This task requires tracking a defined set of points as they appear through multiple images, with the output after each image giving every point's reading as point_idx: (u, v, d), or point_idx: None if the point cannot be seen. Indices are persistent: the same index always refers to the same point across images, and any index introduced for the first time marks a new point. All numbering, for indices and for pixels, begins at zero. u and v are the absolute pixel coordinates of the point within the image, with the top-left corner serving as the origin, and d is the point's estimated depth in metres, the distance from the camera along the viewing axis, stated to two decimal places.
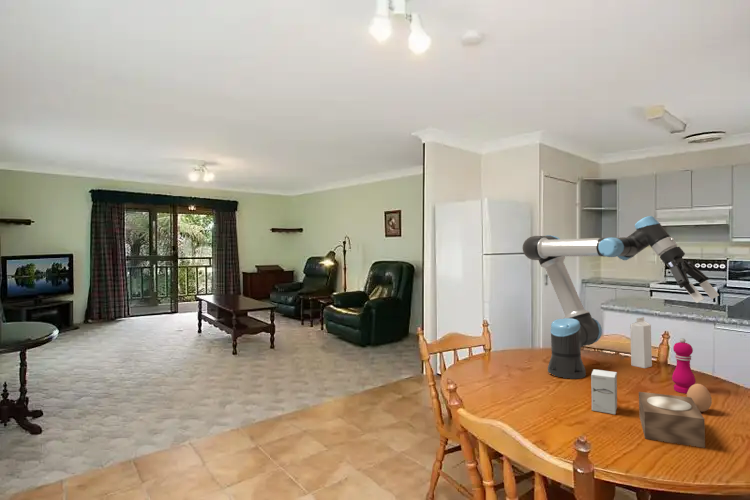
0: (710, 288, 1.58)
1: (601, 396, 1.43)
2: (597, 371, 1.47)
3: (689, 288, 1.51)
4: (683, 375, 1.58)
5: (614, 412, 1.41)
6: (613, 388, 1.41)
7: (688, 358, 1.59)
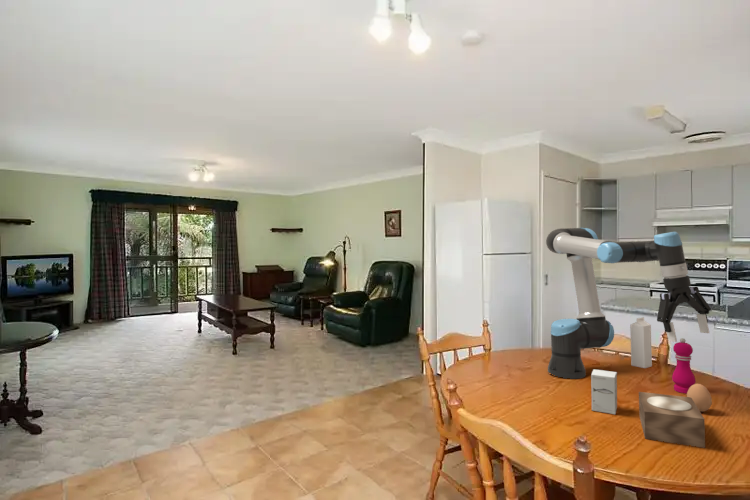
0: (703, 323, 1.48)
1: (601, 396, 1.43)
2: (597, 371, 1.47)
3: (666, 327, 1.45)
4: (683, 375, 1.58)
5: (614, 412, 1.41)
6: (613, 388, 1.41)
7: (688, 358, 1.59)
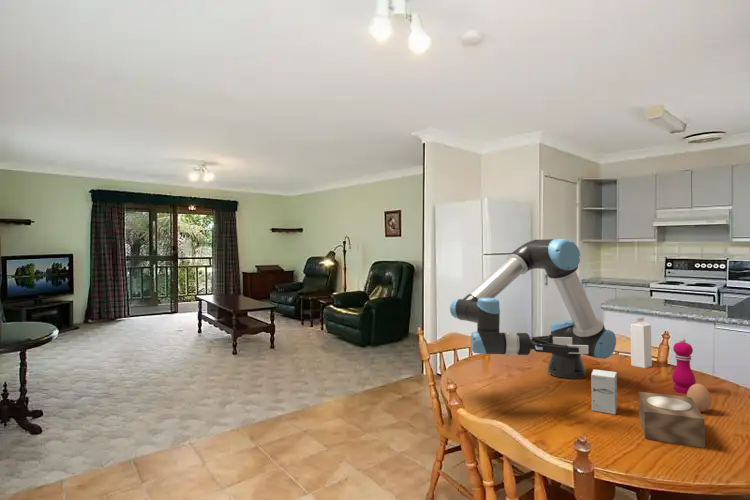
0: None
1: (601, 396, 1.43)
2: (597, 371, 1.47)
3: None
4: (683, 375, 1.58)
5: (614, 412, 1.41)
6: (613, 388, 1.41)
7: (688, 358, 1.59)
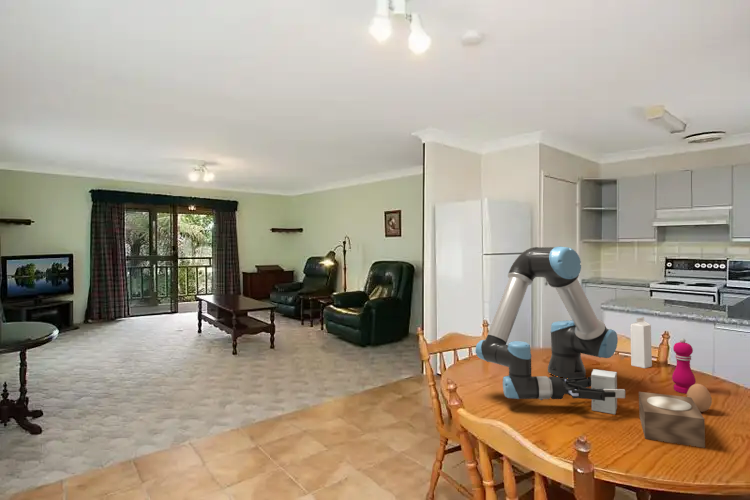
0: None
1: None
2: (597, 371, 1.47)
3: None
4: (683, 375, 1.58)
5: (614, 412, 1.41)
6: (613, 388, 1.41)
7: (688, 358, 1.59)
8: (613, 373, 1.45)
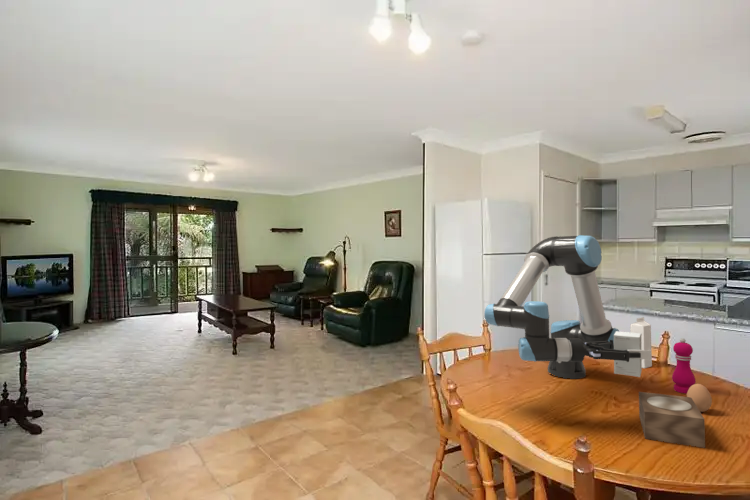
0: None
1: None
2: (620, 332, 1.38)
3: None
4: (683, 375, 1.58)
5: (639, 374, 1.32)
6: (638, 349, 1.32)
7: (688, 358, 1.59)
8: (637, 334, 1.35)
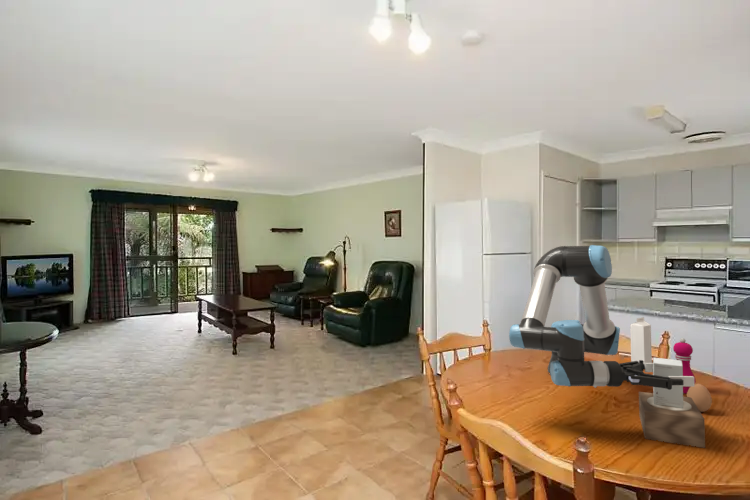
0: None
1: None
2: (659, 359, 1.30)
3: None
4: (683, 375, 1.58)
5: (682, 406, 1.24)
6: None
7: (688, 358, 1.59)
8: (678, 361, 1.27)
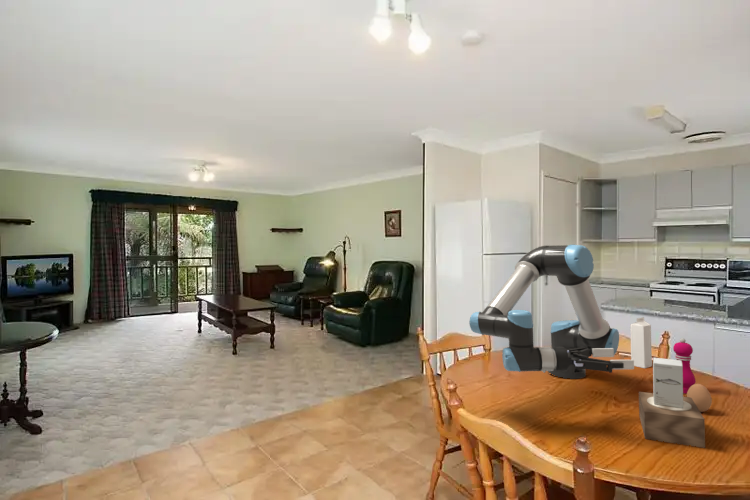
0: None
1: (666, 387, 1.25)
2: (659, 359, 1.30)
3: None
4: (683, 375, 1.58)
5: (682, 406, 1.24)
6: (680, 378, 1.23)
7: (688, 358, 1.59)
8: (678, 361, 1.27)
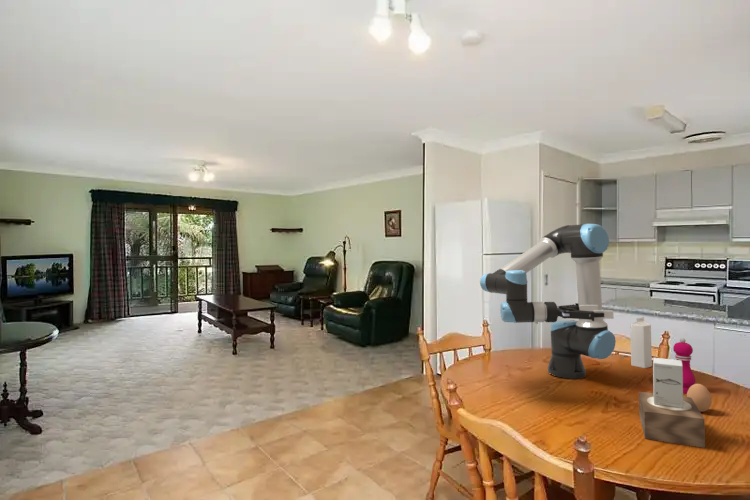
0: None
1: (666, 387, 1.25)
2: (659, 359, 1.30)
3: None
4: (683, 375, 1.58)
5: (682, 406, 1.24)
6: (680, 378, 1.23)
7: (688, 358, 1.59)
8: (678, 361, 1.27)
